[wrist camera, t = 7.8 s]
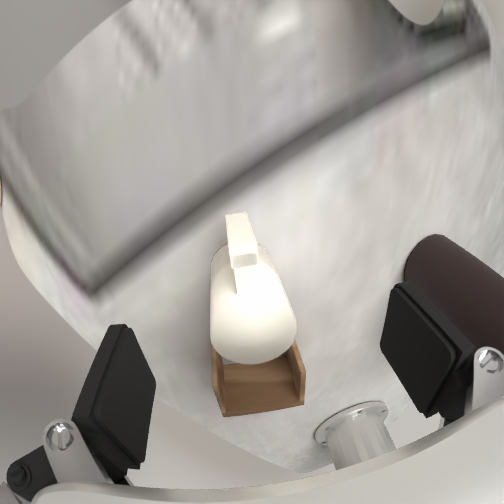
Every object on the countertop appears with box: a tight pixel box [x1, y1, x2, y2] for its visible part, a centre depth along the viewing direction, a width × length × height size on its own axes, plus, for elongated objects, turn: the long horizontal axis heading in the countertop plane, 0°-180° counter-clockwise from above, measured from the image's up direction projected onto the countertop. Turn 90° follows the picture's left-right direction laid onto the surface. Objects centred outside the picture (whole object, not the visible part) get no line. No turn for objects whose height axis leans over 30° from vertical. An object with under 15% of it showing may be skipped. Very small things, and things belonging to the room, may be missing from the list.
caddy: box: [212, 340, 306, 417], centre depth 24 cm, size 5×7×6 cm
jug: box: [210, 212, 297, 364], centre depth 19 cm, size 8×5×8 cm, turn 6°
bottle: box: [405, 234, 504, 355], centre depth 16 cm, size 7×7×20 cm
